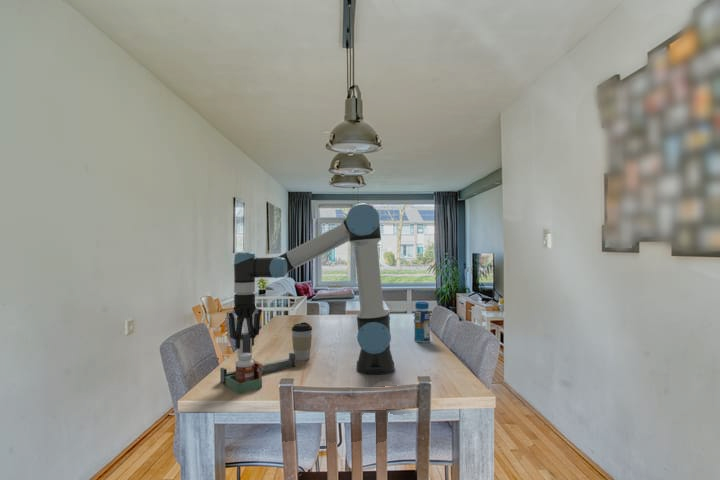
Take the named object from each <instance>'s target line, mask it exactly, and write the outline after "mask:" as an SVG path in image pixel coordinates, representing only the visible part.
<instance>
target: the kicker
mask: <svg viewBox="0 0 720 480" xmlns="http://www.w3.org/2000/svg"><path fill="white" fill-rule="evenodd" d="M241 339H242V340H243V353H250V334H249V333H248V332H244V333H241ZM251 360H253V361H254V380H255V379H259V378H261V379H262V380H263V377H262V376H263V374H262V371H263V367H262V365H263V364H262V363H261V362H259V361H257V360H255V359H253V358H251ZM237 361H238V360H236V361H235V364H236V363H237Z"/></svg>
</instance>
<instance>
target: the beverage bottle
mask: <svg viewBox="0 0 720 480" xmlns="http://www.w3.org/2000/svg"><path fill="white" fill-rule="evenodd" d="M414 304H415V309H416V310H415V312H414V315H413V317H414V319H413V323H414V324H413V325H414V339H413V340H414V342H416V343H420V342H422V344H423V343H424V344H426V343H429V342H430V341H431V319H430V317H431V314H430V312H429V309H430V308H429V305H430V304H429V302H428V301H416V302H415V303H414Z"/></svg>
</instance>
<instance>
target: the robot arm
mask: <svg viewBox="0 0 720 480" xmlns="http://www.w3.org/2000/svg"><path fill="white" fill-rule="evenodd" d="M380 221H381V220H380V215H379V211H378V210H377V209H376V208H375V207H374V206H373V205H371V204H368V203H357V204H356V205H354V206H352V207H351V208H350V210H348V212H347V215H346V218H345V219H343V220H342V221H341V223H340V224H339V225H337V226H335V227H333V228H331V229H329V230H327V231H325V232H323V233H322V234H320V235H317V236H316V237H313V238H312V239H309V240H307V241H306V242H304V243H302V244H300V245H298V246H296V247H294V248H291V249H290V250H288V251H287V252H284V253H282V254H281V255H278V256H275V257H274V256H273V257H256V254H255V253H254V252H236V253H235V254H234V262H233V266H234V267H233V273H234V279H233V282H234V283H233V284H234V285H233V288H234V289H233V290H234V291H233V293H234V300H233V303H234V305H233V306H234V307H233V309H232V310H231V311H228V312H226V317H227V318H228V329H229V338H230V339H232V340H234V341H235V342H234V343H235V345H234V346H235V349H236V350H237V356H238V355H239V354H241V353H243V340H242V339H241V333H242V331H243V324H244V321H245V320H246V327H247V333H249V334H250V353H251V354H252V355H253V347H254V345H255V338H256V336H258V335H260V324H261V315H262V312H263V309H261V308H257V307H256V305H255V304H256V294H255V292H256V278H257V279H258V278H268V279H269V278H273V279H277V278H285V277H286V275H287V274H288V273H289V272H291V271H293V270H295V269H298V267H301V266H303V265H304V264H307V263H309V262H311V261H313V260H315V259H317V258H319V257H321V256H323V255H324V254H326V253H328V252H330V251H332V250H334V249H336V248H338V247H340V246H342V245H344V244H346V243H348V242H349V243H351V245H352V246H353V248H354V257H355V258H354V259H355V268H356V277H357V290H358V299H359V300H358V301H359V312H358V313H357V315H356V321H357V336H356V338H357V342H358V345H359V347H360V350H359V351H360V352H359V355H358V358H357V359H358V360H357V361H356V370H357V371H358V372H360V373H363V374H367V375H368V374H369V375H383V374H384V375H385V374H389V373H391V372H393V371H394V370H395V362H394V360H393V355H392V352H391V340H392V337H391V336H392V335H391V328H390V327H391V322H390V320H391V317H390V312H389V311H386V310H385V309H384V301H383V300H384V299H383V291H382V290H383V289H382V279H381V278H382V277H381V271H380V270H381V268H380V267H381V266H380V260H379V258H380V257H379V249H378V244H379V242H380V241H381V239H382V238H381V237H382V236H381V225H380ZM235 315H236V320H235ZM253 315H254V317H253Z"/></svg>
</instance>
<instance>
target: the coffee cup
mask: <svg viewBox="0 0 720 480" xmlns="http://www.w3.org/2000/svg"><path fill="white" fill-rule="evenodd" d="M312 331H313V326H311V324H310V323H308V322H300V323H295V324H294V325H293V326H292V327H291V332H292V334H291V336H292V338H291V340H292V350H293V354H295V361H306V360H309V359H310V358H311V348H312V336H313V335H312V333H313V332H312Z"/></svg>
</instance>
